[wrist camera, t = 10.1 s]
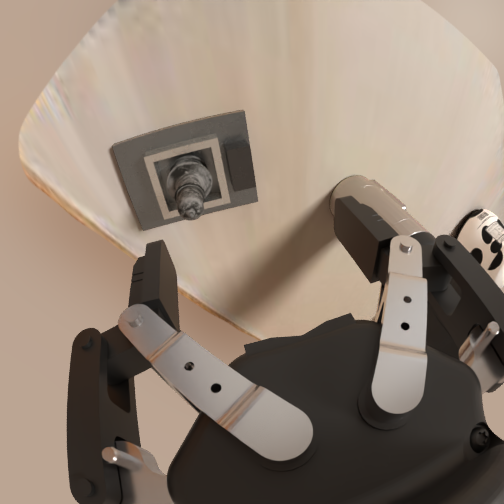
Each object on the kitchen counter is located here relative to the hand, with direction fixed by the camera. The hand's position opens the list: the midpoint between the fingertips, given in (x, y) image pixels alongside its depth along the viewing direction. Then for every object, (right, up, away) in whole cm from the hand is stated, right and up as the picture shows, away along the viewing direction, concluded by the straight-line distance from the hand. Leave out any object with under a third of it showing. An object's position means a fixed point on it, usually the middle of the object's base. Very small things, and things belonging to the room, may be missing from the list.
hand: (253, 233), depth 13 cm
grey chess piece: (-9, +10, +25) cm, 28 cm away
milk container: (+62, +5, +50) cm, 80 cm away
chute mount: (-9, +11, +26) cm, 29 cm away
